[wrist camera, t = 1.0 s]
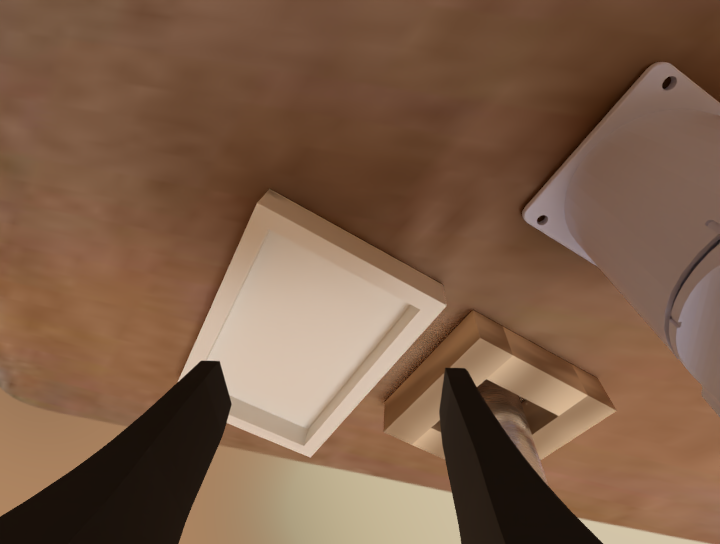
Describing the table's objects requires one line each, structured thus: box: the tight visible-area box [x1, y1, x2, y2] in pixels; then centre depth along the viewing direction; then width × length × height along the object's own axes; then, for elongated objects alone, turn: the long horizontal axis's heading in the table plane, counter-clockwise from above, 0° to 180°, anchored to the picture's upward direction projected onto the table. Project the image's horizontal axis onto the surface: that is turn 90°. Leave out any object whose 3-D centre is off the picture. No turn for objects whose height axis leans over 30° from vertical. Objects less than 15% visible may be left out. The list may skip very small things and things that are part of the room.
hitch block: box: [384, 310, 617, 460], centre depth 25 cm, size 10×10×2 cm
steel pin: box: [477, 379, 548, 485], centre depth 23 cm, size 4×4×7 cm
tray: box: [178, 189, 447, 457], centre depth 24 cm, size 11×17×2 cm, turn 151°
